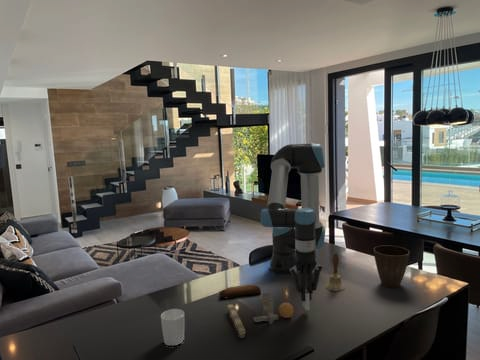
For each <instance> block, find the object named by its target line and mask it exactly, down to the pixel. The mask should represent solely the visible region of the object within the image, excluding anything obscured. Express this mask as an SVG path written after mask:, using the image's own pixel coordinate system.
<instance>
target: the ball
mask: <svg viewBox="0 0 480 360" xmlns="http://www.w3.org/2000/svg"><path fill="white" fill-rule="evenodd" d="M278 312H279V314H280V317H283V318H285V319H288V318H291V317H292V316H293V314H294V307H293V305H292V304H291V303H289V302H283V303H281V304H280V305H279V308H278Z"/></svg>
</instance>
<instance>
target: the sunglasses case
mask: <svg viewBox="0 0 480 360" xmlns="http://www.w3.org/2000/svg"><path fill="white" fill-rule="evenodd" d="M218 293H219V296H220V295H221V297H220V299H221V298H225V297H230V298H234V297H241V296H250V295H261V293H262V290H261V288H260V287H259V286H258V285H253V284H244V285H237V286H229V287H227V288H225V289H222V290H219V292H218ZM225 299H226V298H225Z"/></svg>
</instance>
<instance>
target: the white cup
mask: <svg viewBox="0 0 480 360" xmlns="http://www.w3.org/2000/svg"><path fill="white" fill-rule="evenodd" d="M160 320H161V321H160V322H161V330H162V336H163V343H165V344H166V345H169V346H170V345H172V346H173V345H178V344H180V343H182V342H183V340H184V341H185V312H184V310H183V309H180V308H172V309H168V310H165V311H163V312H162V313H161V314H160ZM183 343H184V342H183ZM183 343H182V344H183ZM165 344H164V345H165ZM166 345H165V346H166Z"/></svg>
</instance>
